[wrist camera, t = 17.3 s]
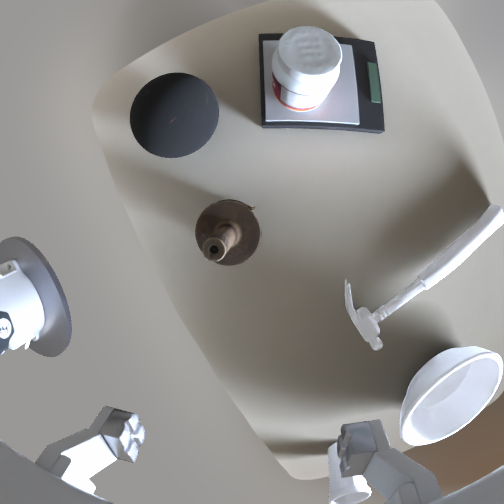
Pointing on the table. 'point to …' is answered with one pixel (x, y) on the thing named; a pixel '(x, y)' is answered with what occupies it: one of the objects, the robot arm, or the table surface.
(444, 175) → the table surface
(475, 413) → the bowl
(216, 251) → the industrial component
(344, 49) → the scale
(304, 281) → the table surface
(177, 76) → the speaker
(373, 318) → the hammer
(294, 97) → the pill bottle
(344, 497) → the cup
